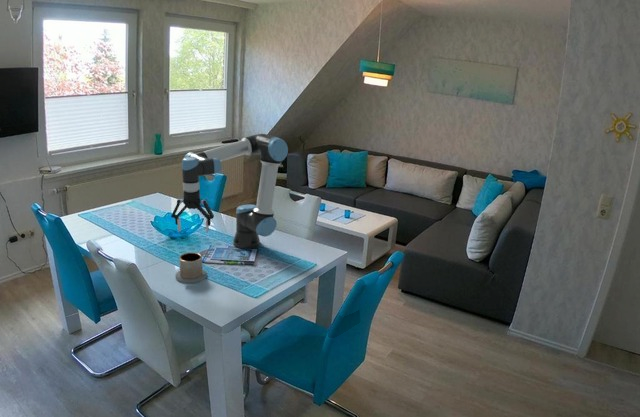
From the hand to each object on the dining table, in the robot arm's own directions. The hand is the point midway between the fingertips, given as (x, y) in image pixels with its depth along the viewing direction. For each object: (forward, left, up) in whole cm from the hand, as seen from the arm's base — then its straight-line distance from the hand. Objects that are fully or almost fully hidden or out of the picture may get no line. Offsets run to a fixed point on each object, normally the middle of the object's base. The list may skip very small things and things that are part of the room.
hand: (193, 231), depth 245 cm
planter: (0, +6, -21) cm, 22 cm away
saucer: (0, +6, -22) cm, 23 cm away
